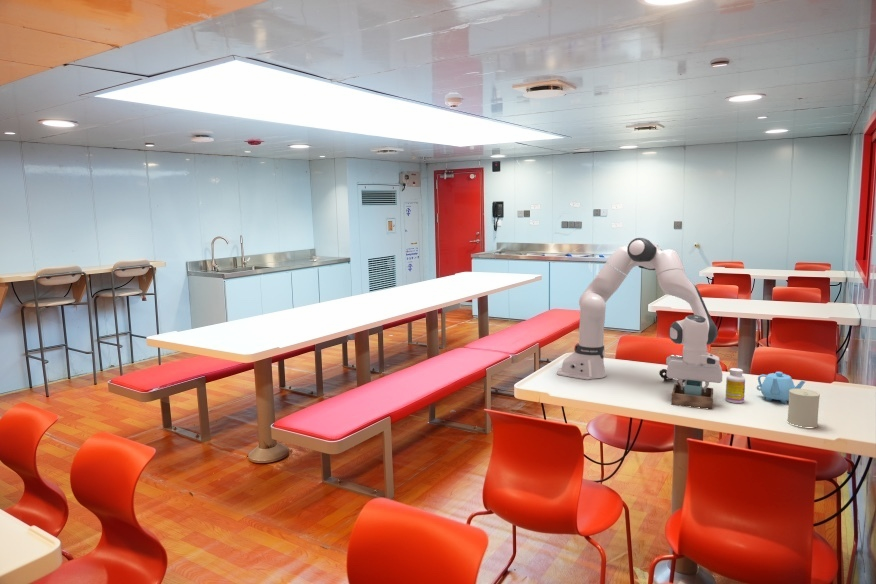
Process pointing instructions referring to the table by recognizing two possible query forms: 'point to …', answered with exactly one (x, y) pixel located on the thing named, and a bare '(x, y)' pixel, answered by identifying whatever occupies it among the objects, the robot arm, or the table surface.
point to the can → (803, 407)
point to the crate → (692, 398)
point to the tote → (693, 388)
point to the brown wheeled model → (666, 376)
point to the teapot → (777, 386)
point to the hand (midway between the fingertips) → (693, 391)
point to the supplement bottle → (735, 386)
